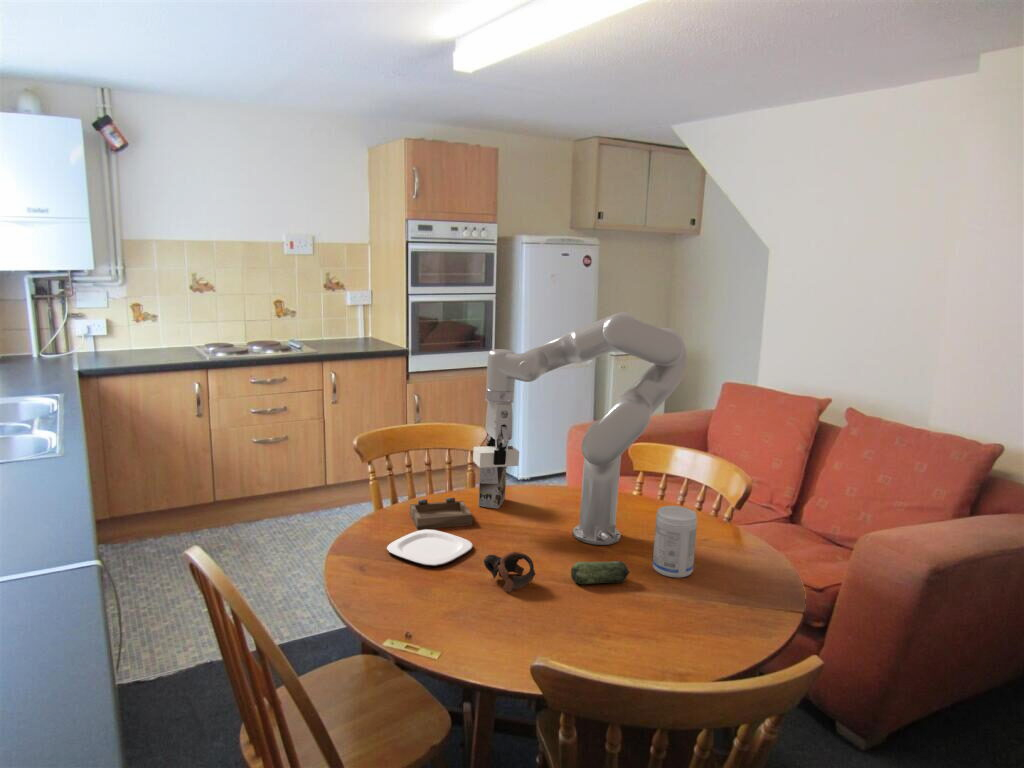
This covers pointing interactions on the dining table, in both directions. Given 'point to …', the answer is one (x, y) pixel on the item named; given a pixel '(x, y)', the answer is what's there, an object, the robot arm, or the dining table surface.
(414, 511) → the brown wooden tray
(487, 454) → the white foam brick
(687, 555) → the supplement tub
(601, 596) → the dining table surface
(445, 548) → the plate
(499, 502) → the coffee box
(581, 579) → the vegetable
